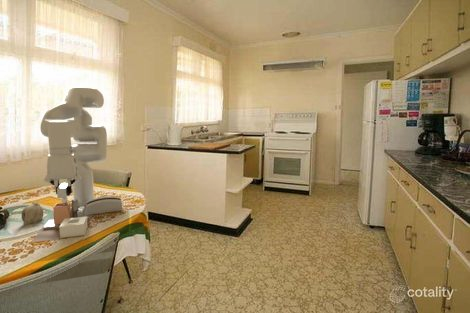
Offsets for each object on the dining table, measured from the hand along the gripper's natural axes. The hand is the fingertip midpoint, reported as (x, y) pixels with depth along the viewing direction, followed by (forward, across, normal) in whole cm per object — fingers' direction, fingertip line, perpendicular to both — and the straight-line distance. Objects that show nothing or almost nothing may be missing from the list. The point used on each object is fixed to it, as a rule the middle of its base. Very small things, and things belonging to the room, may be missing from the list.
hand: (64, 194), depth 112 cm
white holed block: (+13, -5, +10) cm, 17 cm away
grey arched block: (+15, -13, -11) cm, 23 cm away
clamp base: (+13, -1, 0) cm, 13 cm away
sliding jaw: (+11, +1, 0) cm, 12 cm away
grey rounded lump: (+14, +14, -8) cm, 22 cm away
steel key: (+6, 0, 0) cm, 6 cm away
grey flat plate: (+14, 0, +5) cm, 15 cm away
